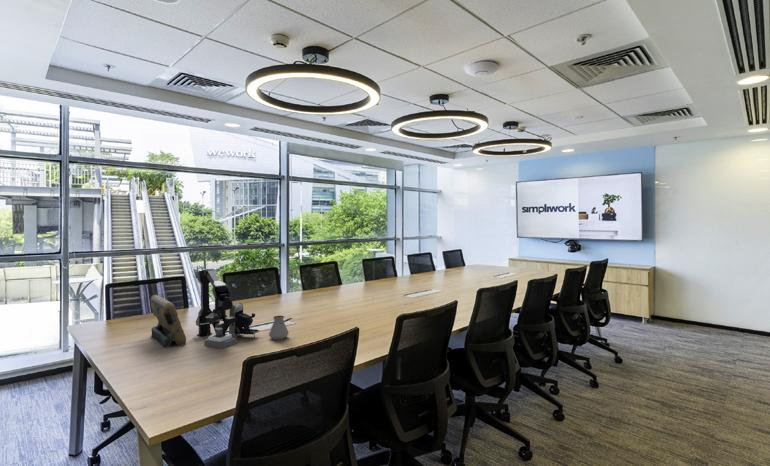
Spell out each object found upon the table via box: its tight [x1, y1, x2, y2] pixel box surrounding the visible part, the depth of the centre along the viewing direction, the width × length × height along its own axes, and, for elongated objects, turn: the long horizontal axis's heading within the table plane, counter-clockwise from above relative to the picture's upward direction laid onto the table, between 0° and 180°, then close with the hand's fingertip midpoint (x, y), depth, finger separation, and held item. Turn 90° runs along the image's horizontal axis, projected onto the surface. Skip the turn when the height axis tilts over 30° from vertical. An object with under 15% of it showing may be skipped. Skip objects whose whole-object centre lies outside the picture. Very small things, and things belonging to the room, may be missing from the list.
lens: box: [215, 322, 225, 338], centre depth 224 cm, size 5×5×7 cm
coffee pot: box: [268, 315, 294, 341], centre depth 233 cm, size 21×12×15 cm, turn 42°
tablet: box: [149, 294, 187, 348], centre depth 231 cm, size 33×14×25 cm, turn 48°
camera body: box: [203, 332, 238, 349], centre depth 224 cm, size 14×10×5 cm
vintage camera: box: [228, 302, 261, 339], centre depth 237 cm, size 10×15×20 cm, turn 79°
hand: (220, 334), depth 224 cm, fingers closed on lens, 5 cm apart
